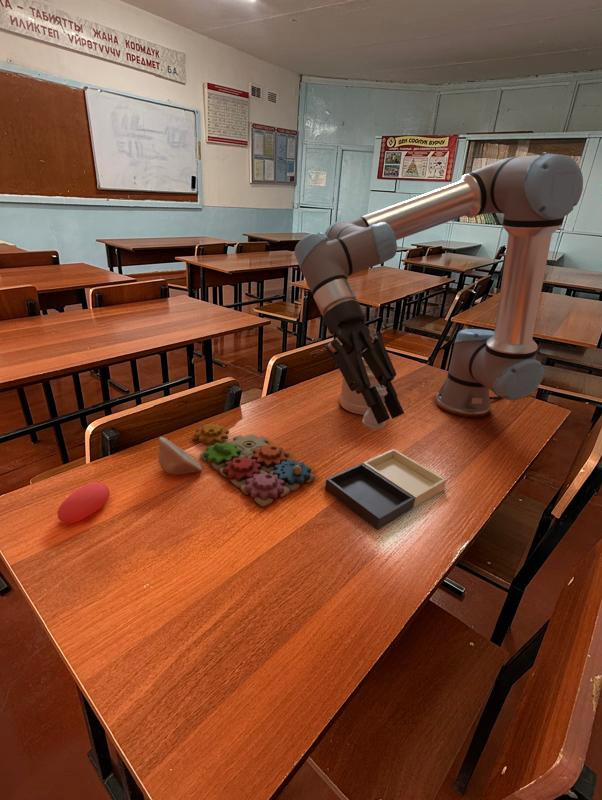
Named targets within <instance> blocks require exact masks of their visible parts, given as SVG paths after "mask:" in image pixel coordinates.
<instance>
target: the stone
mask: <svg viewBox="0 0 602 800" xmlns="http://www.w3.org/2000/svg"><path fill="white" fill-rule="evenodd" d="M158 449H159V450H158V464H159V467H160V468H161V469H162V470H164V471H165V472H166V473H167V474H170V475H179V476H180V475H185V474H186V475H187V474H191V473H195V472H202V471H203V467H202V466H201V465H200V464H199V463H197V461H196V460H195V459H194V458H193V457H192V455H190V454H189V453H188V452H186V451H185V450H184V449H182V448H181V447H179V446H178V445H176V444H175V443H173V442H172V441H171V440H169V439H168V438H166V437H164V436H160V437H159V438H158Z"/></svg>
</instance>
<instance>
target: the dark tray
mask: <svg viewBox="0 0 602 800" xmlns="http://www.w3.org/2000/svg"><path fill="white" fill-rule="evenodd" d="M324 489H325V491H327V492H328V493H330V494H331V495H332V496H333V497H334V498H336V499H337V500H338V501H340V502H341V503H342V504H343V505H345V506H346V507H348V508H349V509H350V510H352V512H354V513H355V514H357V515H358V516H359V517H360V518H361V519H363V520H365V522H367V523H368V524H370V525H371V526H372V527H374V528H375V529H376V530H380V529H381V528H382V527H385V526H386V525H388V524H390V523H391V522H393V521H394V520H396V519H398V518H399V517H401V516H402V515H405V514H406V513H408V512H410V510H412V509H414V508H413V504H414V500H415V498H414V497H412V496H411V495H409V494H408V493H406V492H405V491H403V490H402V489H400V488H399V487H397V486H396V485H394V484H393V483H391V482H390V481H388V480H386V479H385V478H383V477H382V476H380V475H379V474H377V473H376V472H374V471H373V470H371V469H370V468H368V467H367V466H365V465H364V464H363V462H362V463H361V462H360V463H359V464H356V465H354V466H352V467H350V468H347V469H345V470H343V471H341V472H338V473H336V474H334V475H332V476H329V477H327V478H326V479H325V486H324Z"/></svg>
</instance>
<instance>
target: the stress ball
mask: <svg viewBox="0 0 602 800" xmlns="http://www.w3.org/2000/svg"><path fill="white" fill-rule="evenodd" d="M110 495H111V494H110V488H109V487H108V485H106V484H105V483H104V482H101V481H92V482H89V483H87V484H86V483H85V485H83V486H81V487H79V488H78V489H75V491H73V492H72V493H70V494H69V495H68V496H67V497H66V498H65V499H64V501H62V503H61V504H60V506H59V507H58V509H57V513H56V514H57V518H58V520H59V521H60V522H61V523H63V524H73V523H76V522H79V521H82V520H84V519H86V518H88V517H89V516H91V515H92V514H94V513H95V512H96V511H97V510H99V509H101V508H102V507H103V506H104V505H105V504H106V503H107V501H108V500H109V497H110Z"/></svg>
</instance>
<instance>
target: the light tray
mask: <svg viewBox="0 0 602 800" xmlns="http://www.w3.org/2000/svg"><path fill="white" fill-rule="evenodd" d="M362 464H364V465H365V466H367V467H368V468H370V469H371V470H373V471H374V472H376V473H377V474H379V475H380V476H382V477H383V478H385V479H386V480H388V481H390V482H391V483H393V484H394V485H396V486H397V487H399V488H400V489H402V490H403V491H405V492H406V493H408V494H409V495H411V496H412V497H414V498H415V500H414V504H413V508H412V509H414V508H416V507H417V506H419V505H421V504H422V503H424V502H426V501H427V500H429V499H431V498H433V497H434V496H436V495H438V494H439V493H441V492H443V491H444V490H445V488H446V483H447V479H446V478H444V477H443V476H441V475H439V474H438V473H436V472H434V471H432V470H431V469H429V468H428V467H425V466H424V465H422V464H421V463H419V462H417V461H415V460H413V458H410V457H409V456H407V455H405V454H403V453H402V452H400V451H398V450H397V449H395V448H392V449H390V450H388V451H385V452H383V453H380V454H378V455H377V456H374V457H372V458H370V459H368V460H365V461H362Z"/></svg>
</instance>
